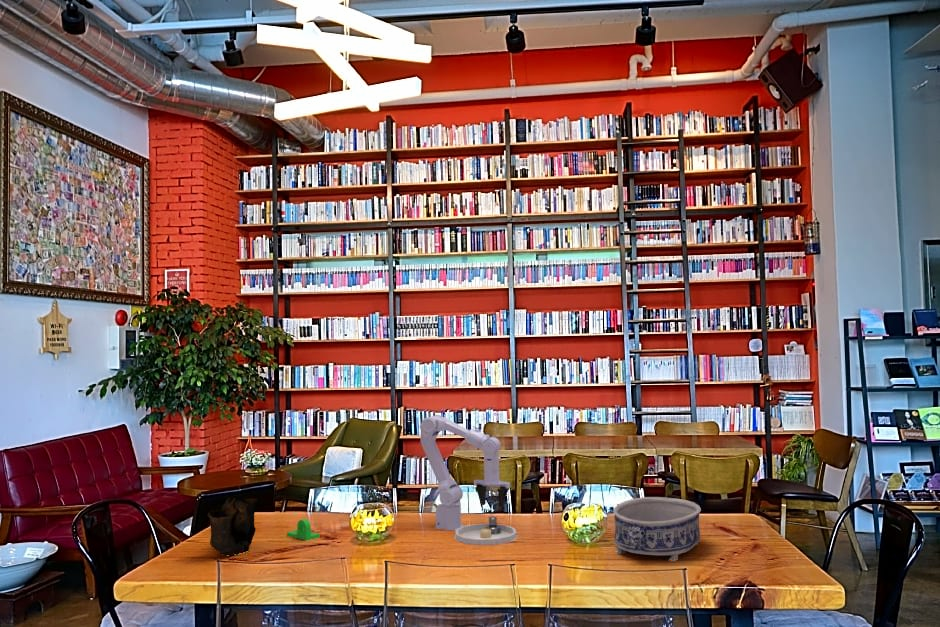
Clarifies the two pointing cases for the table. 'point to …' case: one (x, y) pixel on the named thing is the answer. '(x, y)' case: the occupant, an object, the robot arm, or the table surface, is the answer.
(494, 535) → the carrier
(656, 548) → the decorative bowl
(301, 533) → the mechanical part
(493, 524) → the planet gear
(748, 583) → the table surface
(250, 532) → the pottery vessel
